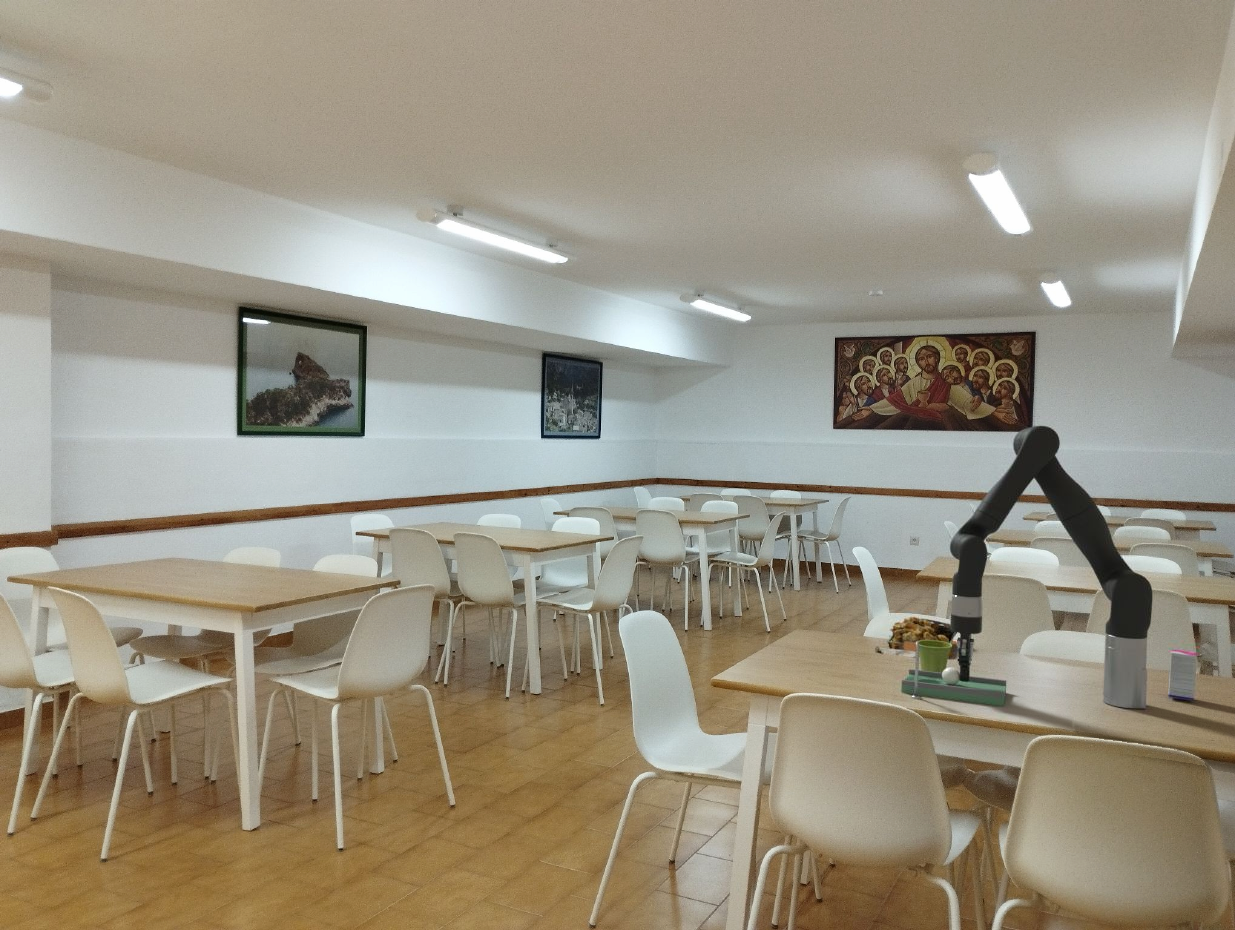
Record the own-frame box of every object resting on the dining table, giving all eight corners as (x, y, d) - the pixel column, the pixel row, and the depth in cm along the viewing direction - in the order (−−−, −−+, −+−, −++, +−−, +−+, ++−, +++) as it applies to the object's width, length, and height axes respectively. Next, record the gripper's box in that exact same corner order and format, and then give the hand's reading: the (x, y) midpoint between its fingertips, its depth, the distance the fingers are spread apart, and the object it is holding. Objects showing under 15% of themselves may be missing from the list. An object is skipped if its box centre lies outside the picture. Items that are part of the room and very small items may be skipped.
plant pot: (953, 680, 253) (954, 648, 253) (917, 677, 255) (918, 646, 255) (948, 672, 262) (949, 641, 262) (913, 669, 264) (914, 639, 264)
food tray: (892, 635, 316) (893, 604, 315) (972, 644, 305) (974, 611, 304) (873, 656, 284) (874, 620, 284) (962, 666, 273) (963, 629, 273)
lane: (1006, 692, 241) (1006, 680, 241) (1003, 706, 228) (1003, 693, 228) (908, 680, 251) (909, 668, 251) (901, 693, 238) (901, 680, 238)
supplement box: (1195, 700, 238) (1196, 655, 237) (1167, 697, 241) (1169, 652, 240) (1195, 695, 242) (1196, 651, 242) (1168, 692, 246) (1170, 648, 245)
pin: (921, 697, 234) (923, 642, 234) (920, 700, 232) (922, 643, 232) (903, 695, 236) (905, 640, 236) (901, 697, 234) (903, 641, 234)
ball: (950, 662, 242) (939, 674, 243) (948, 665, 238) (937, 678, 239) (964, 673, 241) (953, 686, 242) (962, 677, 237) (951, 690, 238)
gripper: (980, 618, 231) (978, 688, 231) (983, 610, 243) (982, 677, 243) (948, 615, 234) (946, 685, 234) (953, 607, 246) (951, 673, 246)
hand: (964, 680), depth 239 cm, fingers closed
